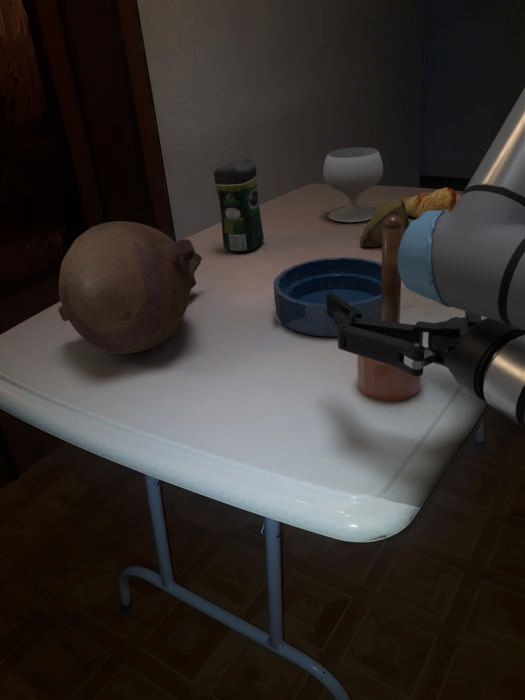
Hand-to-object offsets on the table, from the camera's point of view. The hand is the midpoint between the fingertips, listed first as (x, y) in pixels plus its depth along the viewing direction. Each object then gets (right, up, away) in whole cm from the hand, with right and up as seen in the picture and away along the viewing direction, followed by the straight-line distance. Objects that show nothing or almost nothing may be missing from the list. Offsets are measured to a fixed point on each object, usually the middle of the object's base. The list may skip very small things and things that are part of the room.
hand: (378, 289), depth 67 cm
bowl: (-2, -1, +24) cm, 24 cm away
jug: (-32, -4, +26) cm, 42 cm away
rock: (+12, +15, +51) cm, 54 cm away
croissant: (+27, +24, +63) cm, 73 cm away
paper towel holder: (+2, -12, +4) cm, 12 cm away
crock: (+2, -12, +4) cm, 13 cm away
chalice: (+8, +25, +69) cm, 74 cm away
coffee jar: (-18, +16, +57) cm, 62 cm away
